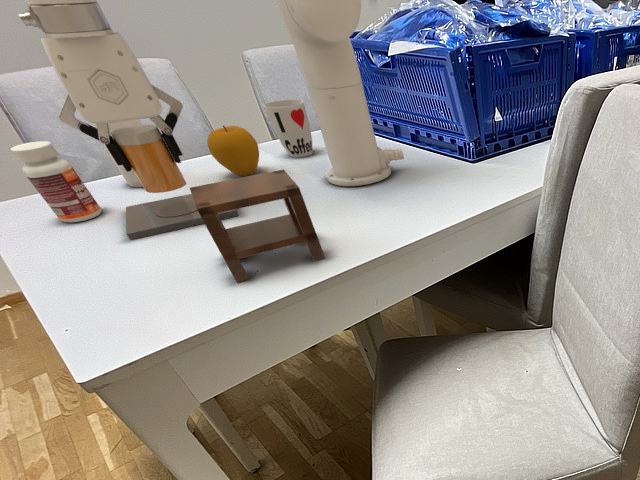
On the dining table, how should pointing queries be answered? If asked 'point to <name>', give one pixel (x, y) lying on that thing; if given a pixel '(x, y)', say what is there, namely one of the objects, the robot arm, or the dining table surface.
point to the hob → (165, 216)
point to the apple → (234, 149)
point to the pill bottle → (56, 182)
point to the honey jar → (149, 158)
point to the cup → (291, 126)
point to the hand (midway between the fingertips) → (153, 164)
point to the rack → (260, 233)
